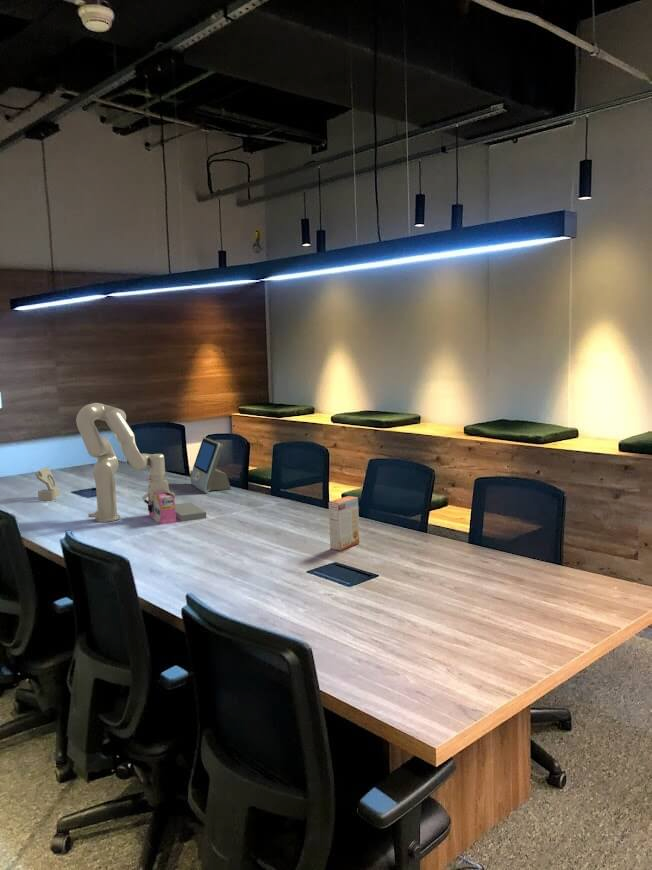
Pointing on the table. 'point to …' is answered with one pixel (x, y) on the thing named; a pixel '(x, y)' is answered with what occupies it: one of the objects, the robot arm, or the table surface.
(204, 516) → the base plinth
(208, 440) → the touchscreen device
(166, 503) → the gum box
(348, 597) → the table surface
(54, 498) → the phone holder
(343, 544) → the cracker box
